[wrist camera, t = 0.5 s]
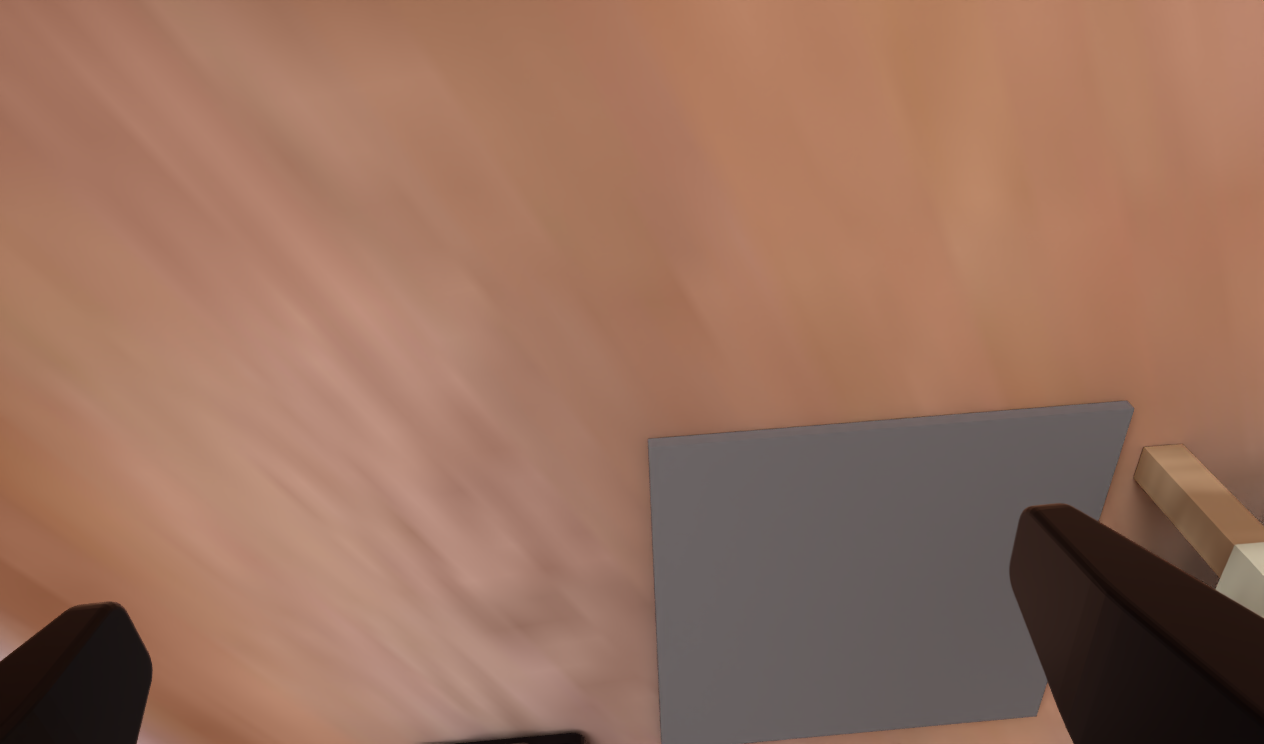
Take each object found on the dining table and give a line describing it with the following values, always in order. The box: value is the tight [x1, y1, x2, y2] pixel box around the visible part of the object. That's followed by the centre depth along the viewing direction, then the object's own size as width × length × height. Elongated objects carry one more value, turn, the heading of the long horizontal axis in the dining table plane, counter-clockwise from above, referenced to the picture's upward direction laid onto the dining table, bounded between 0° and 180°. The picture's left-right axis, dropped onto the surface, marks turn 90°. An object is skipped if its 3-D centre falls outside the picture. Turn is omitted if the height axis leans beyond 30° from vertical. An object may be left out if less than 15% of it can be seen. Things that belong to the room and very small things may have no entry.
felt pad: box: [648, 401, 1134, 744], centre depth 29 cm, size 14×14×1 cm
